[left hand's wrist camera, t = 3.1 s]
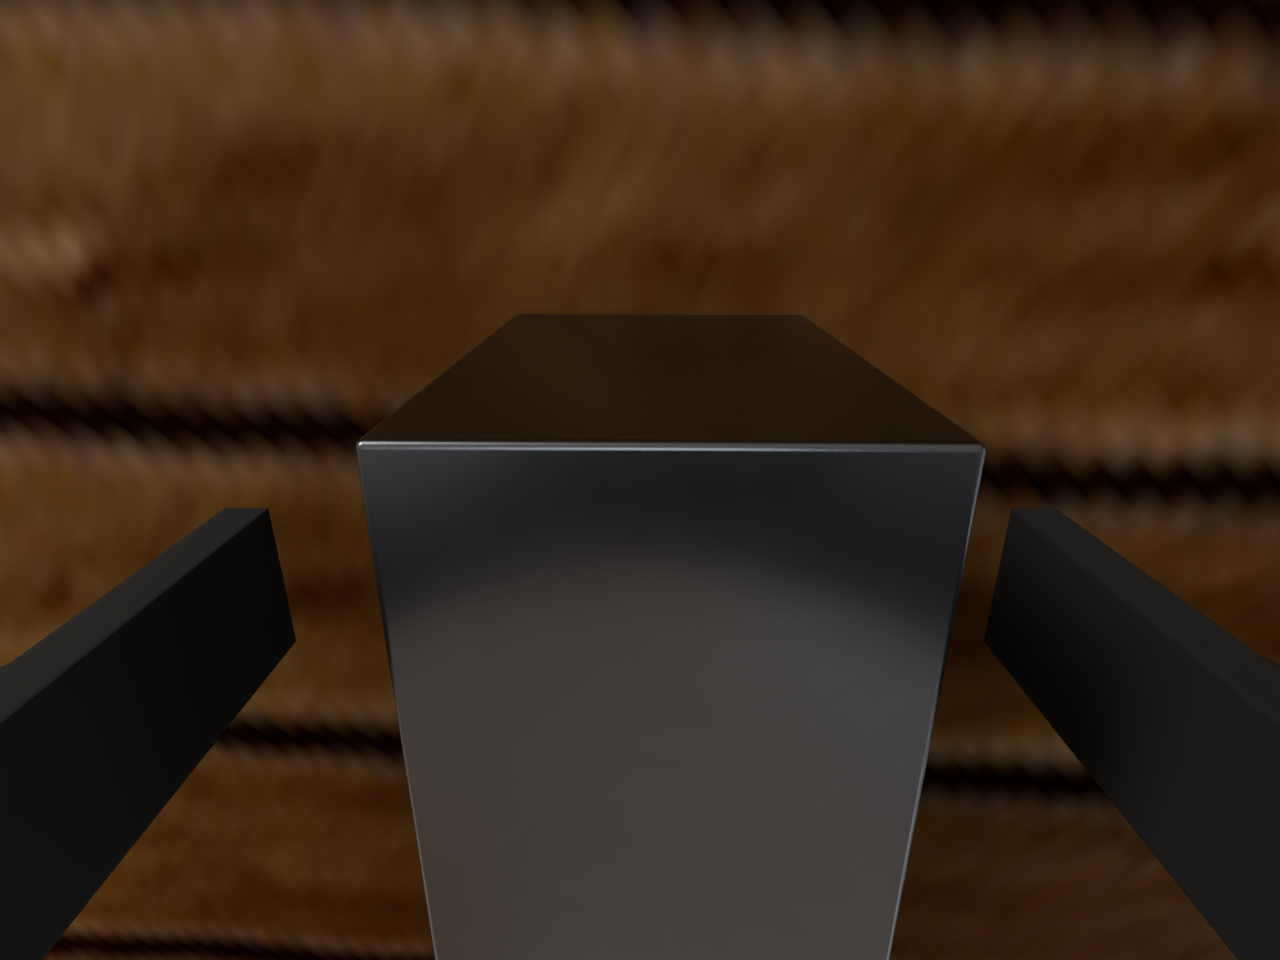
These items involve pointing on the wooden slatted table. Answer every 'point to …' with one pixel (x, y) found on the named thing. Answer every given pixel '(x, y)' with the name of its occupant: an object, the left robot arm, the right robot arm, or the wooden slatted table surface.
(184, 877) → the wooden slatted table surface
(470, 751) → the box
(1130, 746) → the left robot arm
